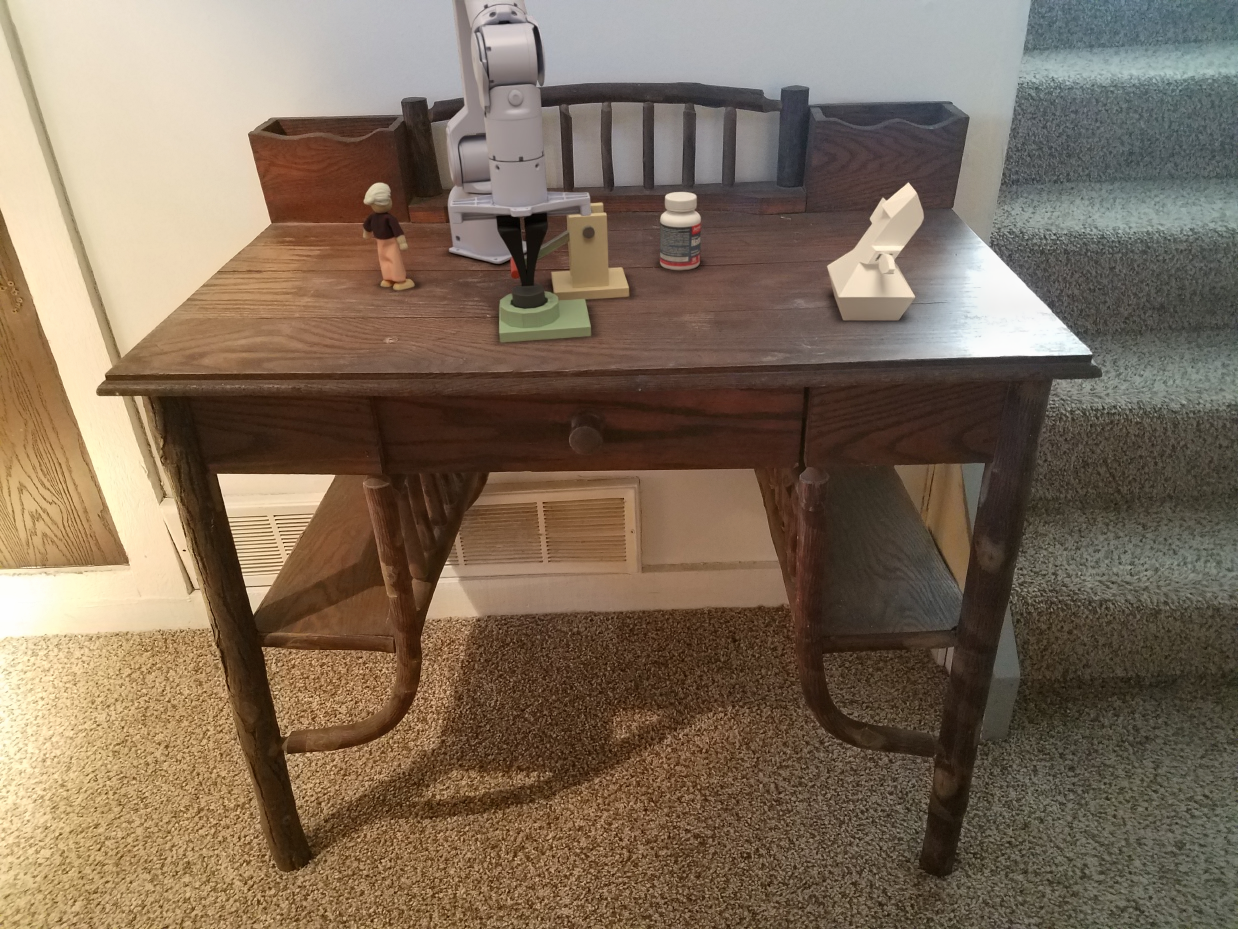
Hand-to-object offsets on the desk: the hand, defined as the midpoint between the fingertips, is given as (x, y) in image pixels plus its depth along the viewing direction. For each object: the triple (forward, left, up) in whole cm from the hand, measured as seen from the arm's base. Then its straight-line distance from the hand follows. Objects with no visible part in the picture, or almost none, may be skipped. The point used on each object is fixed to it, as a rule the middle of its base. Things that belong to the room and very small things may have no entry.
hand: (527, 282), depth 96 cm
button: (0, 0, -2) cm, 2 cm away
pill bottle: (+4, +26, -5) cm, 26 cm away
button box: (+1, +1, -5) cm, 5 cm away
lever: (-4, +10, 0) cm, 11 cm away
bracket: (-1, +13, -5) cm, 14 cm away
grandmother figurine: (-23, +1, -5) cm, 24 cm away
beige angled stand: (+30, +25, -5) cm, 39 cm away
